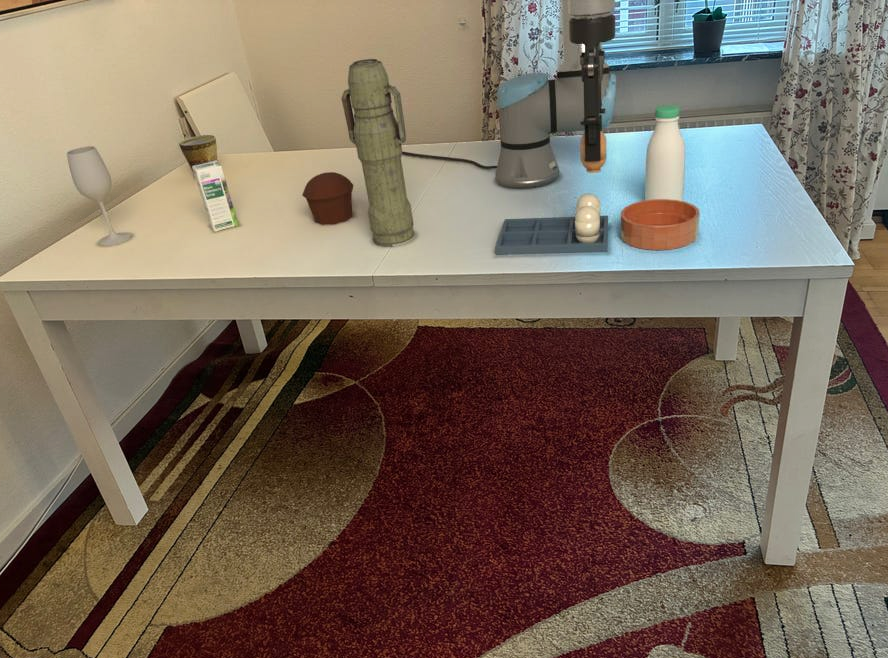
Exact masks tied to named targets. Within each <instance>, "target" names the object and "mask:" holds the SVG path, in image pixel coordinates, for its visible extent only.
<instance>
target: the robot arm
mask: <svg viewBox="0 0 888 658" xmlns="http://www.w3.org/2000/svg"><path fill="white" fill-rule="evenodd" d="M560 3H561V4H560V5H561V6H560V7H561V30H562V31H561V33H562V63H561V65H560V66H559V67H558V68H557V70H556V78H554V79H549V76H548V75H547V73H545V72H532V73H527V74H522V75H519V76H515V77H512V78H510V79H507V80H505V81H504V82H502V83H501V84H500V85H498V88H497V91H496V92H497V93H496V94H497V96H496V97H497V99H496V100H497V101H496V102H497V104H496V108H497V111H498V125H499V127H498V128H499V138H500V152H499V156H498V160H497V165H483V164H480V163H478V162H477V161H475V160H471V159H467V158H459V157H450V156H440V155H429V154H421V153H416V152H415V153H414V152H408V151H403V150H402V155H405V156H409V157H410V156H411V157H418V158H427V159H435V160H443V161H445V160H446V161H453V162H462V163H463V162H464V163H467V164H471V165H474V166H476V167H478V168H480V169H482V170H483V169H484V170H493V169H495V173H494V174H495V182H496V184H498V185H499V186H501V187H503V188H507V189H520V190H521V189H534V188H539V187H543V186H547V185H550V184H552V183H554V182H555V181H557V180H558V179H559V178H560V167H559V164H558V161H557V159H556V156H555V154H554V151H553V148H552V146H551V134H559V133H570V132H571V133H572V132H582V131H583V132H584V133H585V162H589V161H601V131H602V132H603V129H606V128H607V127H609V126H610V124H611V122H612V119H613V116H614V110H615V102H616V94H617V76H616V74H614V73H613V72H610V64H608V63H607V61H605V59H606V56H605V55H606V54H605V52H606V51H605V50H603V43H607V42H610V41H613V40H614V39H615V38H616V16H615V14H613V12H614V11H615V10H616V0H560Z"/></svg>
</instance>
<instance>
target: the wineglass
mask: <svg viewBox="0 0 888 658" xmlns="http://www.w3.org/2000/svg"><path fill="white" fill-rule="evenodd" d="M66 159H67V163H68V168H69V171H70V175H71V179H72V182H73V185H74V187H75V188H76V190H77V191H78V192H79V194H81V195H82V196H84V197H85V198H87V199H88V200H91V201H94V202H96V203H97V204H98V205H99V206H100V208H101V209H100V210H101V212H102V214H103V217H104V219H105V222H106V225H107V226H108V230H109V235H106V236H105V237H102V238H101V239H99V240H98V245H99V246H101V247H112V246H115V245H120V244H122V243H126V242H127V241H129V240H130V239H131V238H132V234H130V233H129V232H118V233H117V232H116V231H114V229H113V226H112V224H111V221H110V218H109V216H108V213H107V210H106V208H105V199H106V198H107V197H108V195H109V193H110V191H111V188H112V182H113V181H112V177H111V174H110V172H109V170H108V168H107V166H106V164H105V161H104V159H103V158H102V156H101V154H100V153H99V151H98V149H97V148H96V146H91V145H90V146H82V147H78V148H73V149H71V150H69V151H67V152H66Z"/></svg>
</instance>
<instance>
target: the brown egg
mask: <svg viewBox="0 0 888 658" xmlns="http://www.w3.org/2000/svg"><path fill="white" fill-rule="evenodd" d="M579 147H580V149H579V150H580V163H581V165H582V167H583V168H584V169H585V171H586V172H587V173H589V174H596V173H599V172H601V171H602V168H603V167H604V165H605V164H606V161H607V137H606V135H605V133H604V132H603V130H602V131H601V161H589V162H585V132H584V133H583V134H582V135H581V137H580V142H579Z"/></svg>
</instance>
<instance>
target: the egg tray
mask: <svg viewBox="0 0 888 658" xmlns="http://www.w3.org/2000/svg"><path fill="white" fill-rule="evenodd" d="M608 245H609V215H600V235H599V238H598V239H597V241H596V242H595V243H580V242H579V241H578V240H577V238H576V235H575V216H557V217H530V218H529V217H527V218H505V219H504V221H503V224H502V226H501V230H500V232H499V235H498V237H497V242H496V244H495V255H496V256H513V255H514V256H516V255H517V256H519V255H550V254H551V255H553V254H557V255H558V254H593V253H596V254H597V253H608V252H609V251H608V249H609V246H608Z"/></svg>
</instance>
